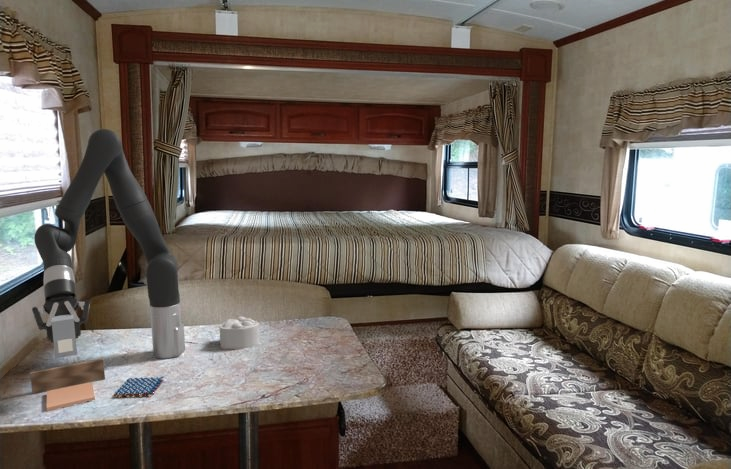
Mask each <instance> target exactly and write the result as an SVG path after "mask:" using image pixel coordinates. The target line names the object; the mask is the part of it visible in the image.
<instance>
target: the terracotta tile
mask: <svg viewBox="0 0 731 469" xmlns="http://www.w3.org/2000/svg"><path fill="white" fill-rule="evenodd" d="M94 391H95V390H94V385H93V382H88V383H83V384H79V385H74V386H69V387H64V388H60V389H55V390H50V391H46V412H49V411H54V410H59V409H58V408H60V409H63V408H62V407H64V408H67V407H66V406H69V407H71V406H70V405H73V406H75V405H74V404H77V405H80V404H79V403H82V404H84V403H83V402H86V403H88V402H87V401H91V402H93V401H92V400H95V401H96V398H95V397H96V395H95V392H94Z"/></svg>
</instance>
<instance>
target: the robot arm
mask: <svg viewBox="0 0 731 469" xmlns="http://www.w3.org/2000/svg"><path fill="white" fill-rule="evenodd" d="M86 146H87V147H86V150H85V153H84V157H83V159H82V161H81V163H80V165H79V167H78V170H77V172H76V173H75V175H74V177H73V179H72V180H71V182H70V184H69V185H68V187H67V188H66V190H65V192H64V194H63V196H62V198H61V199H60V201H59V204H58V205H57V206H56V209H55V211H54V215H55V216H56V217H57V218H58V219H60V220H61V221H63V224H64V225H63V226H64V227H63V228H62V227H60V226H56V225H53V224H51V223H50V224H49V223H45V224H42V225H40V226H39V227H38V228H37V229H36V230H35V233H34V238H33V239H34V244H35V247H36V251H37V252H38V253H39V256H40V258H41V260H42V264H43V288H44V289H43V290H44V292H43V293H44V304H43V305H42V306H40V307H36V306H33V307H32V309H31V310H32V315H33V318H34V320H35V322H36V325H37V327H38V329H39V330H40V331H42V330H45V331H46V338H47V341H48V342H50V343H54V341H53V331H52V318H54V317H55V316H60V315H67V314H70V315H73V317H74V327H75V337H76V339H79V337H81V335H82V333H81V332H82V331H81V325H83V324H87V322H88V319H89V312H90V308H91V301H90V300H89V299H86V300H85V301H80V300H79V299H78V297H77V289H76V288H77V287H76V279H75V274H74V269H73V262H72V261H73V260H72V257H71V255H70V254H69V252H70V251H71V250H73V248H74V247H75V246H76V243H77V238H78V234H79V230H80V226H81V225H80V224H81V220H82V218H83V216H84V214H85V212H86V211H87V208H88V207H89V205H90V202H91V200H92V198H93V196H94V193H95V192H96V188H97V186H98V184H99V182H100V181H101V178H102V176H103V174H104V176H105V177H106V179H107V182H108V184H109V188H110V192H111V196H112V198H113V200H114V204H115V206H116V209H117V211H118V213H119V214H120V217H121V219H122V221H123V222H124V225H125V227H126V228H127V230H128V231H130V233H131V235H132V236H133V237H134V238H135V239H136V241H137V242H138V244H139V246H140V247H141V249H142V250H141V251H143V254H144V257H145V259H146V263H147V266H146V270H145V271H146V272H145V274H146V284H147V285H146V286H147V287H146V288H147V296H148V300H149V311H150V312H149V313H150V325H151V337H152V352H153V357H154V358H156V359H170V358H176V357H180V356H181V355H182V354H183V353H184V351H185V350H186V339H185V337H186V336H185V325H184V322H182V315H181V314H182V313H181V302H180V301H181V300H180V298H181V297H180V292H179V276H178V272H179V263H178V260H176V258H175V256H174V255H173V253H172V251H171V250H170V247H169V246H168V245H167V242H166V240H165V239H164V236H163V234H162V232H161V229H160V228H161V227H160V226H159V223H158V220H157V218H156V216H155V213H154V210H153V208H152V206H151V203H150V201H149V199H148V196H147V195H146V193H145V192H144V189H143V188H142V187H141V185H140V183H139V182H138V180H137V179H136V177H135V176H134V174H133V172H132V171H131V168H130V166H129V163H128V160H127V158H126V155H125V153H124V152H125V151H124V148H123V143H122V140H121V138H120V136H119V135H118V134H117V133H116V132H115V131H113V130H111V129H108V128H107V129H106V128H102V129H98V130H95V131H94V132H93V133H91V134H90V135H89V138H88V141H87V145H86ZM79 307H80V308H81V310H82V316H81V317H78V314H77V312H76V311H77V309H78V308H79ZM43 312H45V313H46V314H48V318H47V321H46V322H44V321H43V319H42V316H43V315H44V314H43Z"/></svg>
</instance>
